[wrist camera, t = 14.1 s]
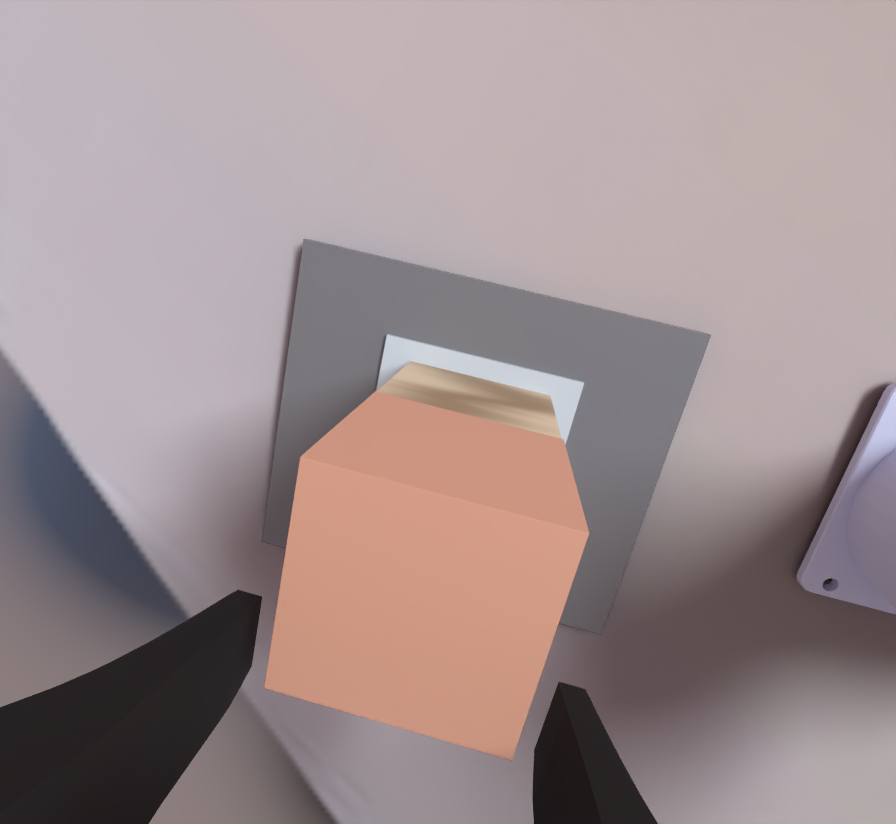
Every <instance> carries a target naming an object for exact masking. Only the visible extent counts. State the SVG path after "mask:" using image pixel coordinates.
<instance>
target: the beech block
mask: <svg viewBox="0 0 896 824" xmlns="http://www.w3.org/2000/svg"><path fill="white" fill-rule="evenodd" d="M376 392H380V393H384V394H388V395H392V396H396V397H400V398H404V399H408V400H411V401H415V402H419V403H423V404H427V405H431V406H435V407H439V408H443V409H447V410H451V411H455V412H459V413H462V414H466V415H470V416H474V417H478V418H482V419H486V420H490V421H494V422H498V423H502V424H506V425H510V426H514V427H517V428H521V429H525V430H529V431H533V432H537V433H541V434H545V435H549V436H553V437H557V438H561V434H560V430H559V427H558V423H557V419H556V415H555V411H554V408H553V404H552V400H551V396H550V395H546V394H542V393H538V392H534V391H530V390H526V389H522V388H518V387H514V386H510V385H506V384H502V383H498V382H494V381H490V380H486V379H482V378H478V377H474V376H470V375H465V374H461V373H457V372H453V371H449V370H445V369H441V368H437V367H433V366H429V365H425V364H421V363H417V362H413V361H410V362H409V363H408V364H407V365H406V366H405V367H403V368H402V369H401V370H400V371H399V372H398V373H397V374H395V375H394V376H393V377H392V378H391V379H390V380H389V381H387V382H386V383H385V384H384V385H383V386H382V387H381V388H379V389H378V390H377V391H376ZM561 439H562V438H561Z"/></svg>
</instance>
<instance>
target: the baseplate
mask: <svg viewBox="0 0 896 824" xmlns="http://www.w3.org/2000/svg"><path fill="white" fill-rule="evenodd" d="M710 337H711V335H709V334H706V333H702V332H698V331H694V330H690V329H685V328H681V327H677V326H673V325H669V324H664V323H660V322H656V321H652V320H647V319H643V318H639V317H635V316H631V315H626V314H622V313H618V312H614V311H609V310H605V309H601V308H597V307H592V306H588V305H584V304H580V303H576V302H571V301H567V300H563V299H559V298H554V297H550V296H546V295H542V294H538V293H533V292H529V291H525V290H521V289H516V288H512V287H508V286H504V285H499V284H495V283H491V282H487V281H483V280H478V279H474V278H470V277H466V276H461V275H457V274H453V273H449V272H445V271H440V270H436V269H432V268H428V267H423V266H419V265H415V264H411V263H406V262H402V261H398V260H394V259H390V258H385V257H381V256H377V255H373V254H368V253H364V252H360V251H356V250H352V249H347V248H343V247H339V246H335V245H330V244H326V243H322V242H318V241H313V240H309V239H304V240H303V247H302V255H301V262H300V269H299V276H298V283H297V291H296V298H295V305H294V312H293V320H292V327H291V334H290V341H289V349H288V356H287V363H286V370H285V377H284V385H283V392H282V399H281V406H280V414H279V421H278V428H277V435H276V442H275V450H274V457H273V464H272V471H271V479H270V486H269V493H268V500H267V507H266V515H265V522H264V529H263V536H262V542H265V543H268V544H272V545H276V546H279V547H283V548H286V545H287V539H288V532H289V526H290V520H291V513H292V507H293V500H294V494H295V488H296V481H297V475H298V468H299V462H300V457H301V456H302V455H303V454H304V453H305V452H306V451H307V450H309V449H310V448H311V447H312V446H313V445H314V444H315V443H317V442H318V441H319V440H320V439H321V438H322V437H324V436H325V435H326V434H327V433H328V432H329V431H330V430H332V429H333V428H334V427H335V426H336V425H337V424H338V423H340V422H341V421H342V420H343V419H344V418H345V417H347V416H348V415H349V414H350V413H351V412H352V411H353V410H355V409H356V408H357V407H358V406H359V405H360V404H361V403H363V402H364V401H365V400H366V399H367V398H368V397H370V396H371V395H372V394H373V393H374V392H375V391H377V390H378V389H379V388H381V387H382V386H383V385H384V384H385V383H386V382H387V381H389V380H390V379H391V378H392V377H393V376H394V375H395V374H397V373H398V372H399V371H400V370H401V369H402V368H403V367H405V366H406V365H407V364H408V363H409V362H410V361H413V362H417V363H421V364H425V365H429V366H433V367H437V368H441V369H445V370H449V371H453V372H457V373H461V374H465V375H470V376H474V377H478V378H482V379H486V380H490V381H494V382H498V383H502V384H506V385H510V386H514V387H518V388H522V389H526V390H530V391H534V392H538V393H542V394H546V395H550V396H551V400H552V404H553V408H554V411H555V415H556V419H557V423H558V427H559V430H560V434H561V438H562V439H564V442H565V446H566V450H567V453H568V457H569V461H570V464H571V468H572V472H573V475H574V479H575V483H576V486H577V490H578V494H579V497H580V501H581V505H582V508H583V512H584V516H585V519H586V523H587V527H588V530H589V535H588V538H587V541H586V544H585V547H584V550H583V553H582V556H581V559H580V562H579V565H578V568H577V571H576V574H575V577H574V580H573V582H572V585H571V588H570V591H569V594H568V597H567V600H566V603H565V606H564V609H563V612H562V615H561V618H560V621H559V623H561V624H564V625H568V626H571V627H575V628H579V629H582V630H586V631H590V632H593V633H597V634H601V633H602V630H603V628H604V625H605V622H606V619H607V617H608V614H609V611H610V608H611V606H612V603H613V600H614V598H615V595H616V592H617V589H618V587H619V584H620V581H621V579H622V576H623V573H624V570H625V568H626V565H627V562H628V560H629V557H630V554H631V551H632V549H633V546H634V543H635V540H636V538H637V535H638V532H639V530H640V527H641V524H642V521H643V519H644V516H645V513H646V511H647V508H648V505H649V502H650V500H651V497H652V494H653V492H654V489H655V486H656V483H657V481H658V478H659V475H660V473H661V470H662V467H663V464H664V462H665V459H666V456H667V453H668V451H669V448H670V445H671V443H672V440H673V437H674V434H675V432H676V429H677V426H678V424H679V421H680V418H681V415H682V413H683V410H684V407H685V405H686V402H687V399H688V396H689V394H690V391H691V388H692V386H693V383H694V380H695V377H696V375H697V372H698V369H699V366H700V364H701V361H702V358H703V356H704V353H705V350H706V347H707V345H708V342H709V339H710Z"/></svg>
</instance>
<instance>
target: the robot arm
mask: <svg viewBox="0 0 896 824" xmlns="http://www.w3.org/2000/svg"><path fill="white" fill-rule="evenodd" d="M829 578H832V581H831V582H830V583H829V584H827V585H823V582H824V581H825V580H827V579H829ZM797 581H798V582H799V583H800V585H801V586H802V587H803V588H804V589H805V590H807V591H809V592H812V593H816V594H819V595H823V596H827V597H831V598H835V599H838V600H842V601H846V602H850V603H854V604H857V605H861V606H865V607H869V608H873V609H877V610H880V611H884V612H888V613H892V614H896V382H893V383H892V384H890V385H889V386H887V388H886V389H885V390H884V392H883V394H882V396H881V398H880V400H879V402H878V404H877V406H876V409H875V411H874V413H873V415H872V417H871V419H870V421H869V423H868V425H867V427H866V430H865V432H864V434H863V436H862V438H861V440H860V442H859V444H858V446H857V448H856V451H855V453H854V455H853V457H852V459H851V461H850V463H849V465H848V467H847V469H846V472H845V474H844V476H843V478H842V480H841V482H840V484H839V486H838V488H837V490H836V493H835V495H834V497H833V499H832V501H831V503H830V505H829V507H828V509H827V511H826V514H825V516H824V518H823V520H822V522H821V524H820V526H819V528H818V530H817V532H816V534H815V537H814V539H813V541H812V543H811V545H810V547H809V549H808V551H807V553H806V555H805V558H804V560H803V562H802V564H801V566H800V568H799V570H798V572H797ZM261 601H262V597H261V596H258V595H254V594H251V593H247V592H244V591H240V590H237V591H235V592H233V593H231V594H230V595H228V596H226V597H225V598H223V599H221V600H220V601H218V602H216V603H215V604H213V605H212V606H210V607H208V608H207V609H205V610H203V611H202V612H200V613H198V614H197V615H195V616H193V617H192V618H190V619H188V620H187V621H185V622H183V623H182V624H180V625H178V626H176V627H175V628H173V629H171V630H170V631H168V632H166V633H165V634H163V635H161V636H159V637H157V638H156V639H154V640H152V641H150V642H148V643H147V644H145V645H143V646H141V647H139V648H137V649H135V650H133V651H131V652H129V653H127V654H125V655H124V656H122V657H120V658H118V659H116V660H114V661H112V662H110V663H108V664H106V665H104V666H102V667H100V668H98V669H95V670H93V671H91V672H89V673H87V674H84V675H82V676H80V677H77V678H75V679H73V680H70V681H68V682H66V683H64V684H61V685H59V686H56V687H54V688H51V689H49V690H46V691H43V692H41V693H38V694H35V695H32V696H30V697H27V698H24V699H22V700H19V701H17V702H14V703H11V704H8V705H6V706H3V707H0V824H149V822H150V821H151V819H152V817H153V816H154V814H155V813H156V811H157V810H158V808H159V807H160V805H161V804H162V802H163V801H164V799H165V798H166V797H167V795H168V794H169V792H170V791H171V789H172V788H173V787H174V785H175V784H176V782H177V781H178V779H179V778H180V776H181V775H182V774H183V772H184V771H185V770H186V768H187V767H188V765H189V764H190V762H191V761H192V759H193V758H194V757H195V755H196V754H197V752H198V751H199V749H200V748H201V747H202V745H203V744H204V742H205V741H206V740H207V738H208V737H209V735H210V734H211V732H212V731H213V730H214V728H215V727H216V725H217V724H218V722H219V721H220V720H221V718H222V717H223V715H224V714H225V712H226V711H227V709H228V708H229V706H230V704H231V703H232V701H233V699H234V697H235V695H236V694H237V692H238V690H239V688H240V687H241V685H242V683H243V681H244V679H245V677H246V675H247V673H248V672H249V670H250V668H251V666H252V660H253V653H254V647H255V640H256V634H257V627H258V620H259V614H260V607H261ZM533 814H534V824H658V823H657V822H656V820H655V818H654V817H653V815H652V813H651V812H650V810H649V808H648V807H647V805H646V803H645V802H644V800H643V798H642V797H641V795H640V793H639V791H638V790H637V788H636V786H635V784H634V782H633V781H632V779H631V777H630V775H629V773H628V772H627V770H626V768H625V766H624V764H623V762H622V761H621V759H620V757H619V755H618V753H617V751H616V749H615V747H614V745H613V744H612V742H611V740H610V738H609V736H608V734H607V732H606V730H605V728H604V726H603V724H602V722H601V720H600V718H599V716H598V714H597V712H596V710H595V708H594V706H593V704H592V702H591V700H590V698H589V696H588V694H587V692H586V690H585V689H582V688H579V687H575V686H572V685H568V684H565V683H561V682H559V683H558V686H557V688H556V691H555V694H554V697H553V700H552V702H551V705H550V708H549V711H548V713H547V716H546V719H545V722H544V724H543V727H542V730H541V733H540V736H539V738H538V741H537V744H536V747H535V750H534V771H533Z"/></svg>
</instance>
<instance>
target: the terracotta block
mask: <svg viewBox="0 0 896 824" xmlns="http://www.w3.org/2000/svg"><path fill="white" fill-rule="evenodd" d="M588 535H589V530H588V527H587V523H586V519H585V516H584V512H583V508H582V505H581V501H580V497H579V494H578V490H577V486H576V483H575V479H574V475H573V472H572V468H571V464H570V461H569V457H568V453H567V450H566V446H565V442H564V439H561V438H557V437H553V436H549V435H545V434H541V433H537V432H533V431H529V430H525V429H521V428H517V427H514V426H510V425H506V424H502V423H498V422H494V421H490V420H486V419H482V418H478V417H474V416H470V415H466V414H462V413H459V412H455V411H451V410H447V409H443V408H439V407H435V406H431V405H427V404H423V403H419V402H415V401H411V400H408V399H404V398H400V397H396V396H392V395H388V394H384V393H380V392H376V391H375V392H374V393H373V394H372V395H371V396H370V397H368V398H367V399H366V400H365V401H364V402H363V403H361V404H360V405H359V406H358V407H357V408H356V409H355V410H353V411H352V412H351V413H350V414H349V415H348V416H347V417H345V418H344V419H343V420H342V421H341V422H340V423H338V424H337V425H336V426H335V427H334V428H333V429H332V430H330V431H329V432H328V433H327V434H326V435H325V436H324V437H322V438H321V439H320V440H319V441H318V442H317V443H315V444H314V445H313V446H312V447H311V448H310V449H309V450H307V451H306V452H305V453H304V454H303V455H302V456H301V457H300V462H299V468H298V475H297V481H296V488H295V494H294V500H293V507H292V513H291V520H290V526H289V532H288V539H287V545H286V552H285V558H284V564H283V571H282V577H281V584H280V590H279V596H278V603H277V609H276V616H275V622H274V628H273V635H272V641H271V648H270V654H269V660H268V667H267V673H266V679H265V686H264V688H266V689H269V690H273V691H276V692H280V693H283V694H286V695H290V696H293V697H297V698H300V699H304V700H307V701H310V702H314V703H317V704H321V705H324V706H327V707H331V708H334V709H338V710H341V711H344V712H348V713H351V714H355V715H358V716H362V717H365V718H368V719H372V720H375V721H379V722H382V723H385V724H389V725H392V726H396V727H399V728H403V729H406V730H409V731H413V732H416V733H420V734H423V735H426V736H430V737H433V738H437V739H440V740H444V741H447V742H450V743H454V744H457V745H461V746H464V747H467V748H471V749H474V750H478V751H481V752H485V753H488V754H491V755H495V756H498V757H502V758H505V759H508V760H512V759H513V756H514V753H515V750H516V747H517V744H518V741H519V738H520V735H521V732H522V729H523V726H524V723H525V720H526V718H527V715H528V712H529V709H530V706H531V703H532V700H533V697H534V694H535V691H536V688H537V685H538V682H539V679H540V676H541V673H542V671H543V668H544V665H545V662H546V659H547V656H548V653H549V650H550V647H551V644H552V641H553V638H554V635H555V632H556V629H557V626H558V624H559V621H560V618H561V615H562V612H563V609H564V606H565V603H566V600H567V597H568V594H569V591H570V588H571V585H572V582H573V580H574V577H575V574H576V571H577V568H578V565H579V562H580V559H581V556H582V553H583V550H584V547H585V544H586V541H587V538H588Z"/></svg>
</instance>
